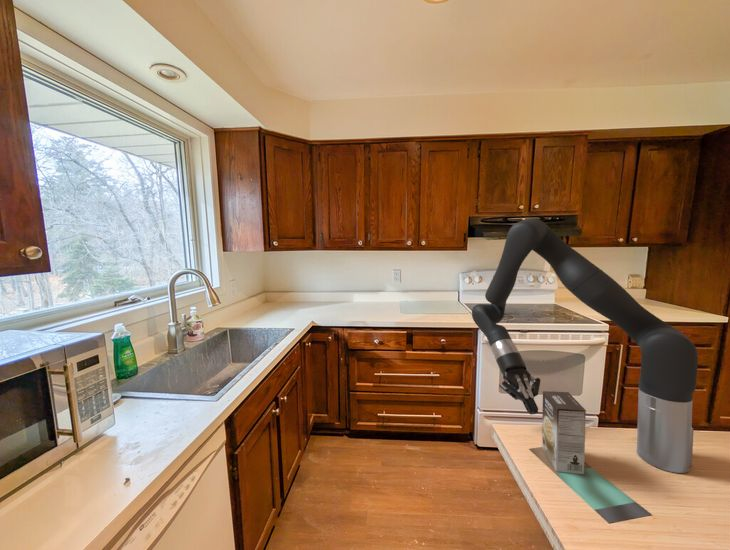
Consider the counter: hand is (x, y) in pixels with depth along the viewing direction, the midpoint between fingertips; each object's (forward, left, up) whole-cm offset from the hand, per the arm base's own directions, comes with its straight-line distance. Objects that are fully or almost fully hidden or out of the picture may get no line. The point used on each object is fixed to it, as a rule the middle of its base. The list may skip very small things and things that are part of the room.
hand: (534, 413), depth 82 cm
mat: (0, +15, -7) cm, 17 cm away
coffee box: (0, +10, -7) cm, 12 cm away
